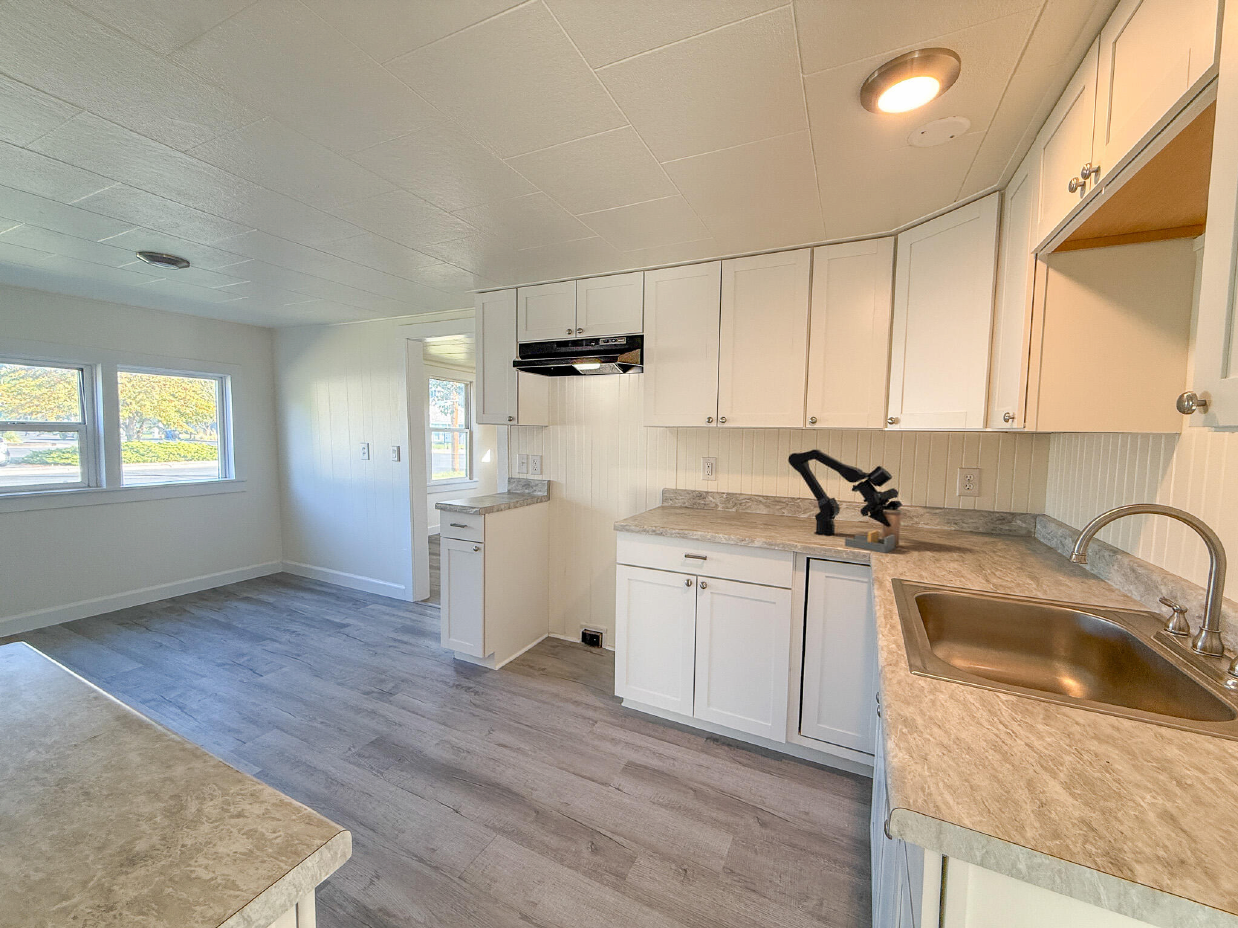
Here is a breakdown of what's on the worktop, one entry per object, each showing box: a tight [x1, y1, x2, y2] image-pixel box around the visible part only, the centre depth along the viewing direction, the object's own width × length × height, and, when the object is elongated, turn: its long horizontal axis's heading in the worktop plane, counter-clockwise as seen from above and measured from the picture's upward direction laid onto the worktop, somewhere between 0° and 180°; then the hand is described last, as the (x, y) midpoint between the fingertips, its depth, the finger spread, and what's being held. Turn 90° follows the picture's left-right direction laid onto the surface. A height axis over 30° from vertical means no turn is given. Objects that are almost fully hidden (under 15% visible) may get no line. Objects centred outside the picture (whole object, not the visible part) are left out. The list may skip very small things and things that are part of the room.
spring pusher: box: [867, 529, 880, 543], centre depth 187 cm, size 1×8×6 cm, turn 133°
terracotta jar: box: [881, 509, 903, 546], centre depth 190 cm, size 6×6×13 cm
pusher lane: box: [844, 534, 896, 554], centre depth 188 cm, size 15×10×6 cm
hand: (894, 525), depth 189 cm, fingers closed on terracotta jar, 6 cm apart
